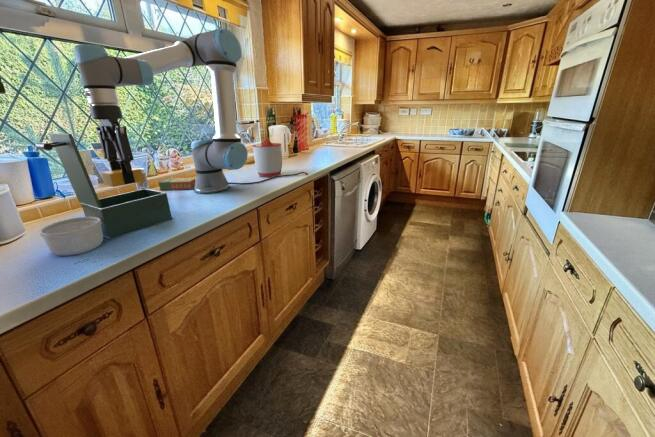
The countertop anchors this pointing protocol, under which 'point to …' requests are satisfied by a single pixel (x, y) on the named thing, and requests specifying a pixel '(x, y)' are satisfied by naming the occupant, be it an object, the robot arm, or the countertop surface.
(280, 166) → the citrus juicer
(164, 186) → the carton
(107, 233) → the green lidded box
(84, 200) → the bin lid
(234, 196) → the countertop surface
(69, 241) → the ramekin
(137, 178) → the block
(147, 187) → the sprinkles bottle
